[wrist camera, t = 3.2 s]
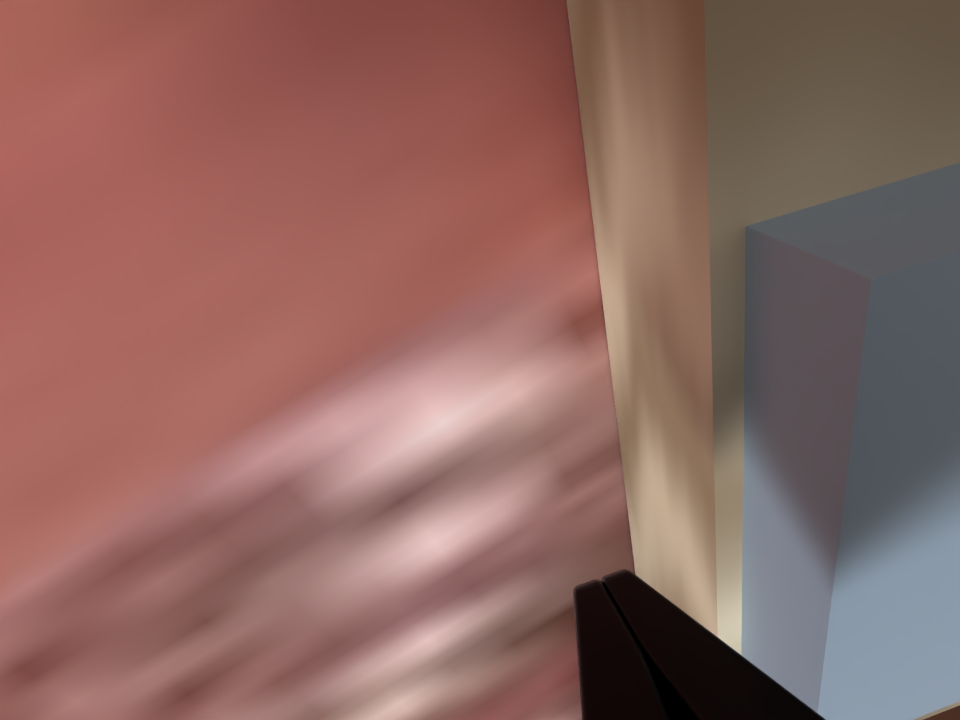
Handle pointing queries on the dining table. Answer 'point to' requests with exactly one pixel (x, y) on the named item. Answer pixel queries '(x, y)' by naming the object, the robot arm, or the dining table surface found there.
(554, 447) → the dining table surface
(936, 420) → the block
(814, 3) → the beige flat block
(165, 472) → the dining table surface
